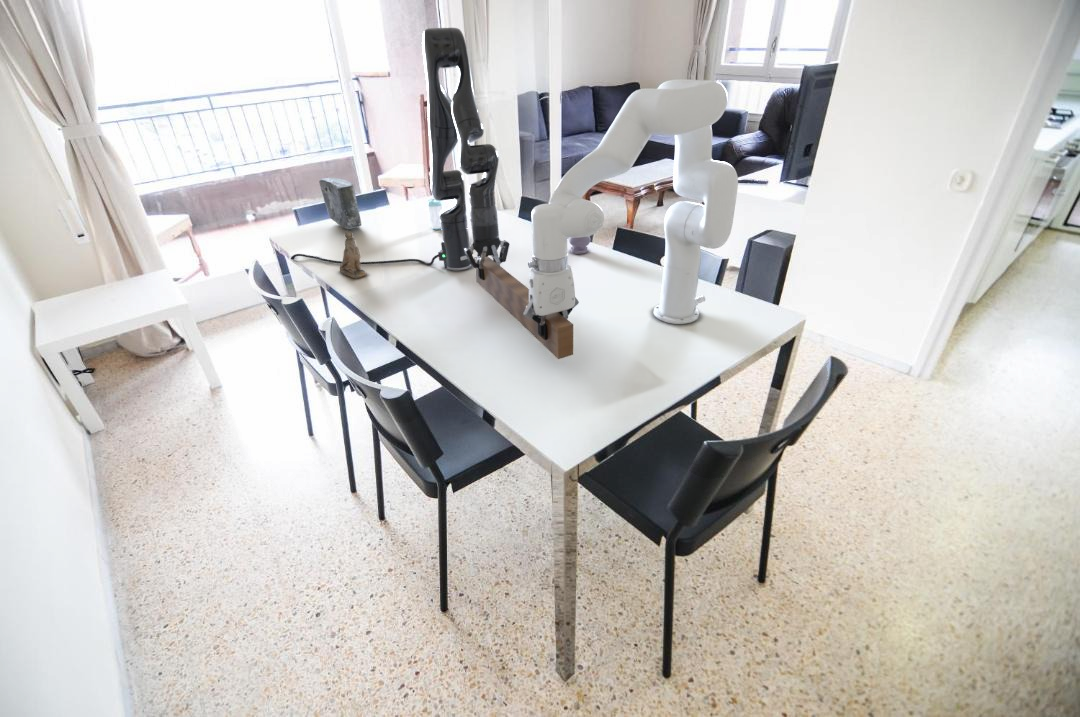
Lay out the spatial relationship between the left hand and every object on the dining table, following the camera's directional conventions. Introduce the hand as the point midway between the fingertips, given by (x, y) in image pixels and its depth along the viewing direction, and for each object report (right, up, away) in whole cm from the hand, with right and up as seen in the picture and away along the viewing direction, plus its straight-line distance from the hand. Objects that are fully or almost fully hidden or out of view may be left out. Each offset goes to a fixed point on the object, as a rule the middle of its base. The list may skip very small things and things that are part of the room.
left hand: (489, 277), depth 149 cm
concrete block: (-74, +36, +80) cm, 115 cm away
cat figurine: (+30, +17, +41) cm, 54 cm away
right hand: (+18, -19, -30) cm, 40 cm away
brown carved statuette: (-52, +6, +29) cm, 60 cm away
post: (+9, -12, -13) cm, 20 cm away
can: (-30, +34, +74) cm, 87 cm away
